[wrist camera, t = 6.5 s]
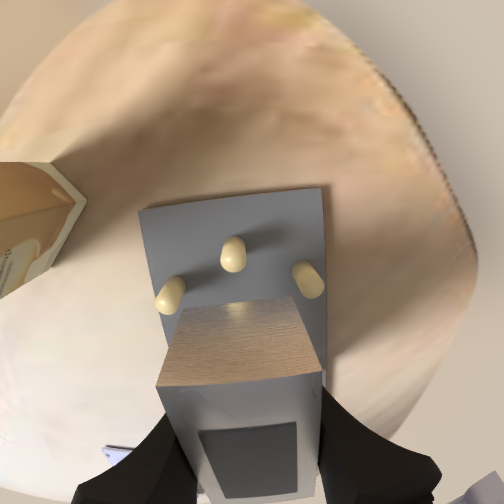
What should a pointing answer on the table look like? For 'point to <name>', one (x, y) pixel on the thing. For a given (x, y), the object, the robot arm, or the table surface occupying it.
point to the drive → (245, 400)
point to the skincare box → (33, 220)
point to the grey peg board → (240, 256)
